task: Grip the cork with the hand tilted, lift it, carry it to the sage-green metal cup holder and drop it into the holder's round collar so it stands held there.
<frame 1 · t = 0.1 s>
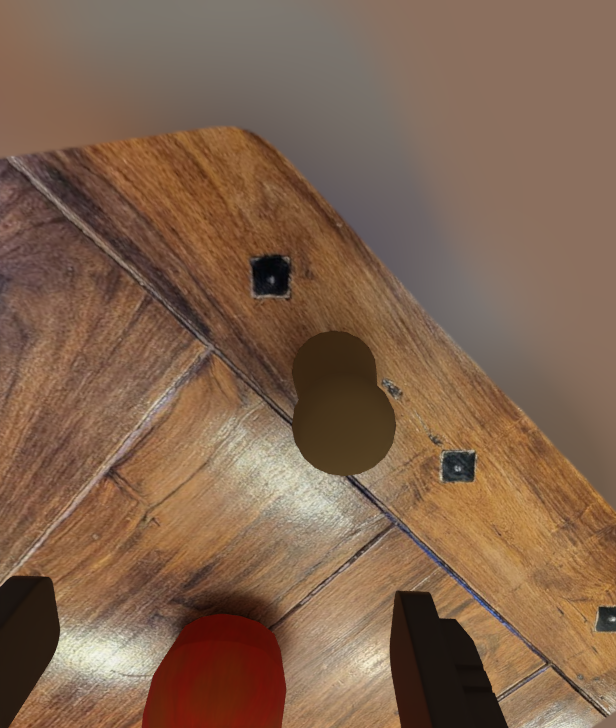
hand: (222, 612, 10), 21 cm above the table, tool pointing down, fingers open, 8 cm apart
apple: (232, 632, 37), on the table
cork: (334, 371, 30), on the table
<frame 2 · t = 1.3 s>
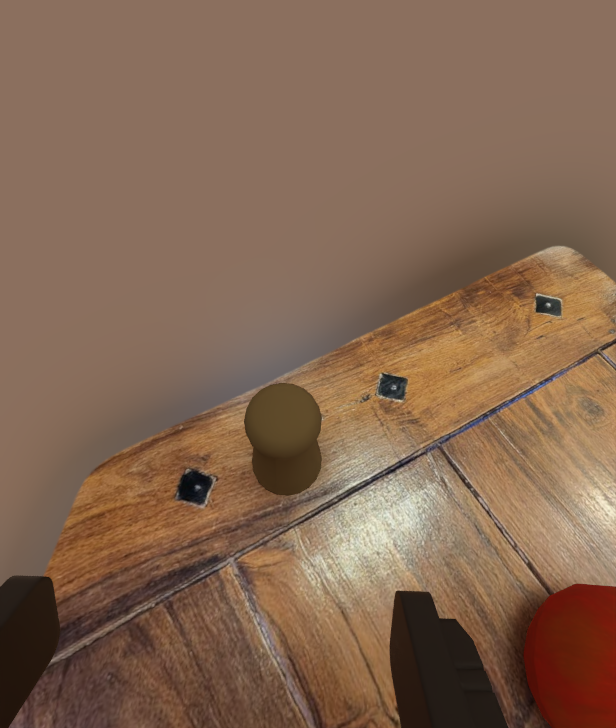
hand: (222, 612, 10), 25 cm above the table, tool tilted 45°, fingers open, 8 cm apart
apple: (571, 666, 30), on the table
cork: (287, 460, 37), on the table
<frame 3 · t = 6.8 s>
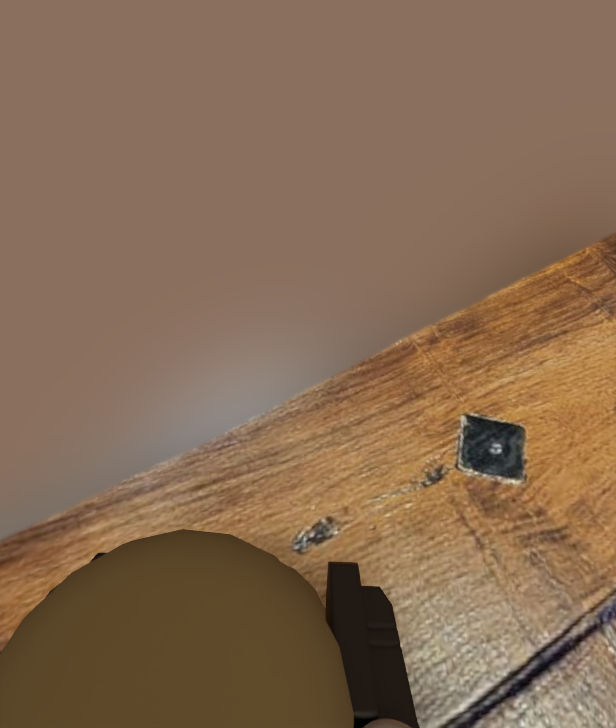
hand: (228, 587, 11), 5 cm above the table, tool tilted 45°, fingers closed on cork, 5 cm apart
cork: (246, 653, 14), on the table, touching gripper
when the fingers open (8 cm above the table, at t = 17.6 s): cork drops 2 cm, resting on cup holder.
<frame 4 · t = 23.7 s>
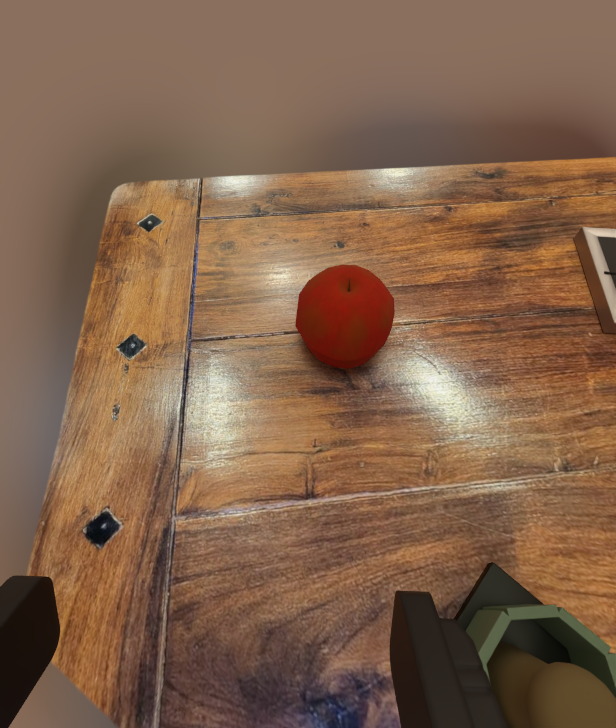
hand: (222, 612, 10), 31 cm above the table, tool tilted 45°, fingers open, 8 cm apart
cup holder: (516, 677, 34), on the table
apple: (340, 344, 50), on the table
cork: (506, 687, 33), point 1 cm above the table, touching cup holder
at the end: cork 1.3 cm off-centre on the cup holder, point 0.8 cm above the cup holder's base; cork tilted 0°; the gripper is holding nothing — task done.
